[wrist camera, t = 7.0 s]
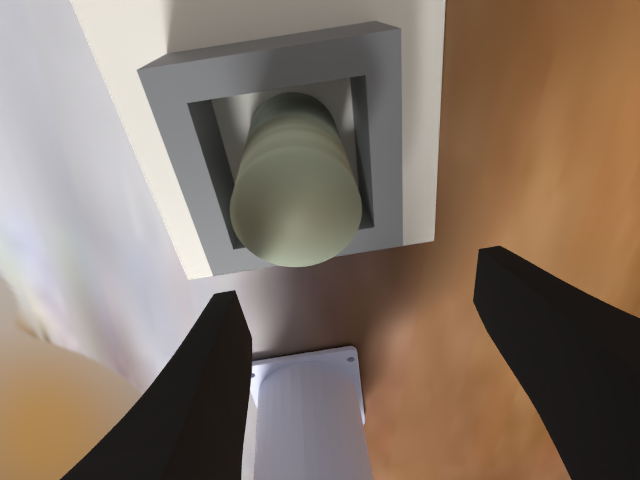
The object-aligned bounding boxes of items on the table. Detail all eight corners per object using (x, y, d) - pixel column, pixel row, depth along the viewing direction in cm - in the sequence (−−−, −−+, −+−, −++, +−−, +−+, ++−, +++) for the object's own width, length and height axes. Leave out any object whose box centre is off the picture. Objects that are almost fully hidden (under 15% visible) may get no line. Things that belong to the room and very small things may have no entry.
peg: (340, 172, 18) (365, 258, 13) (259, 183, 18) (246, 274, 13) (332, 86, 16) (358, 142, 10) (240, 99, 16) (213, 162, 10)
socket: (430, 235, 22) (461, 284, 18) (190, 273, 22) (171, 330, 18) (443, -79, 14) (501, -105, 10) (68, -21, 14) (-6, -25, 10)
